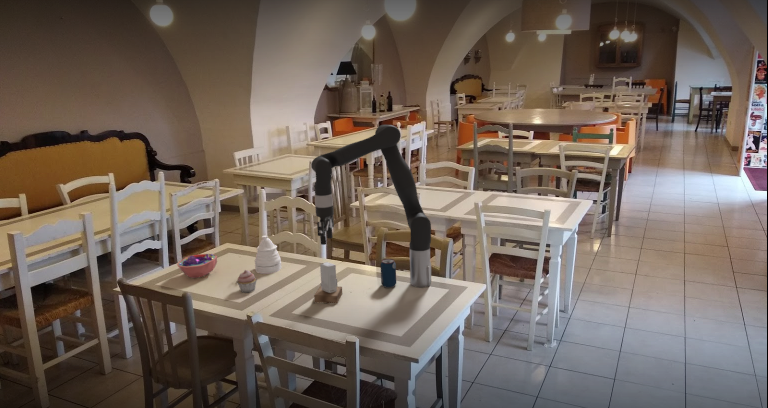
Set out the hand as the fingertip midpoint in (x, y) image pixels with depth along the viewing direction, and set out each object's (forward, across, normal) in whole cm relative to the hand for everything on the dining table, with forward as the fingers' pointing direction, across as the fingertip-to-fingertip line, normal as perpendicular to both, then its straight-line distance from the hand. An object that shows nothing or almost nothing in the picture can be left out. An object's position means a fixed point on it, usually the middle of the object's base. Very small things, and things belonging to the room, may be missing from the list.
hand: (326, 241), depth 238 cm
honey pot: (+26, +29, +43) cm, 58 cm away
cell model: (+26, +17, +74) cm, 80 cm away
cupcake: (+26, +2, +41) cm, 48 cm away
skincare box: (+22, -1, 0) cm, 23 cm away
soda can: (+26, +17, -22) cm, 39 cm away
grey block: (+26, +9, +4) cm, 28 cm away
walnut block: (+26, -1, +1) cm, 27 cm away
